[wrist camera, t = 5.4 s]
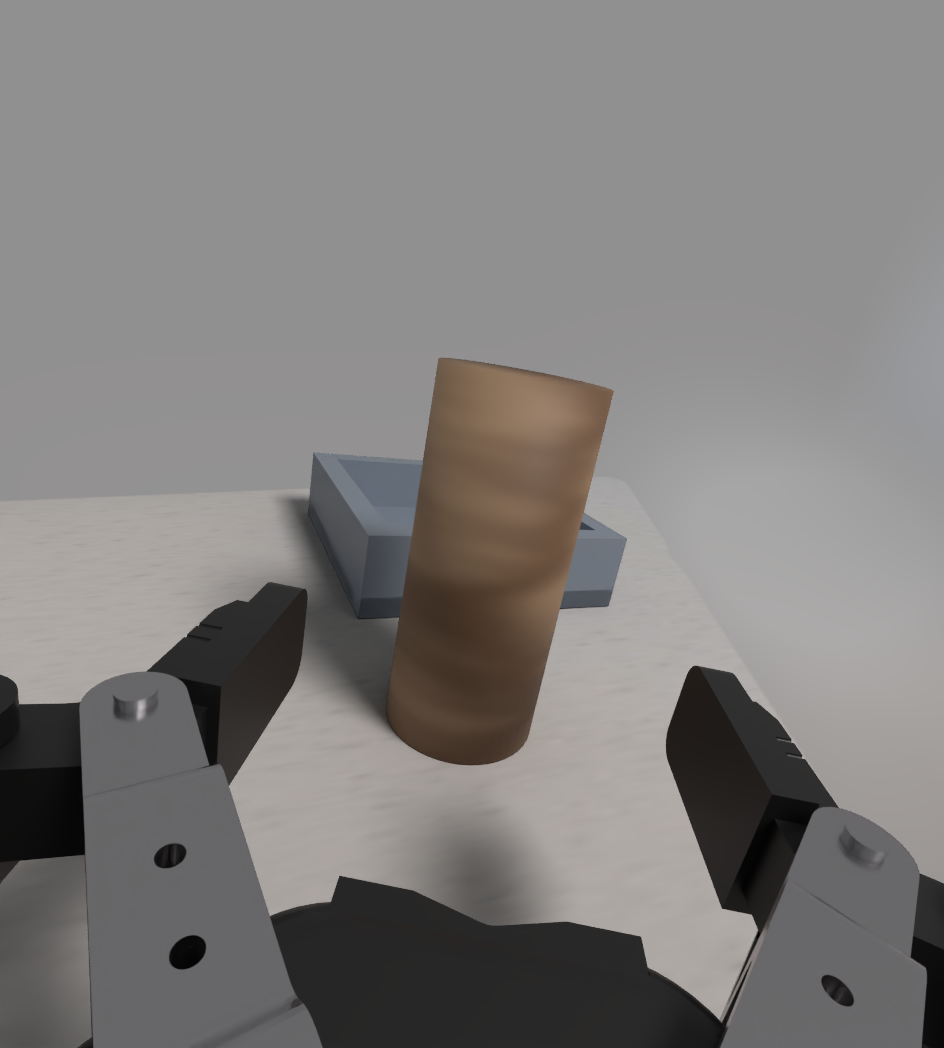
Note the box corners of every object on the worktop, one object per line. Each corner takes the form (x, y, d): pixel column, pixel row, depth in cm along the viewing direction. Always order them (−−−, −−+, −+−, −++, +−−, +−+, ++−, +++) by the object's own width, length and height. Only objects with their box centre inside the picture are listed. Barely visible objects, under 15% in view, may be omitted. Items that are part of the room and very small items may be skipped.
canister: (412, 777, 18) (483, 374, 14) (369, 677, 22) (414, 351, 18) (556, 751, 20) (651, 399, 16) (491, 665, 24) (553, 373, 20)
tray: (358, 618, 26) (368, 535, 25) (308, 512, 38) (313, 452, 36) (608, 605, 32) (626, 538, 31) (497, 517, 44) (507, 466, 43)
